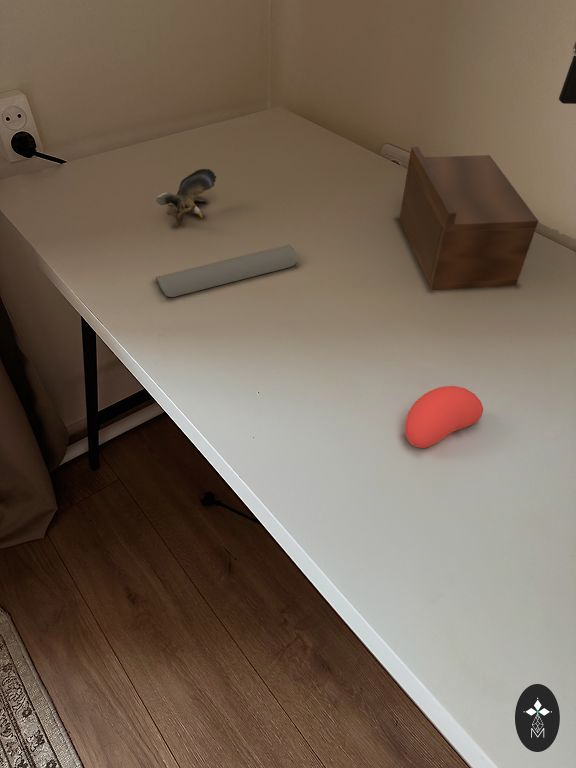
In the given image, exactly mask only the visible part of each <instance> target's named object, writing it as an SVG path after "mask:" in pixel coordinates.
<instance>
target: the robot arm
mask: <svg viewBox="0 0 576 768" xmlns="http://www.w3.org/2000/svg"><path fill="white" fill-rule="evenodd" d="M572 52H573V54H574V55H573V57H572V59H571V62H570V65H569V68H568V71H567V73H566V77H565V79H564V82H563V85H562V88H561V90H560V93H559V97H558V101H559V102H560V103H562V104H565V105H567V104H568V105H569V104H570V105H576V41H575V42H574V44H573V47H572Z"/></svg>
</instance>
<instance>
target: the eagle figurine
mask: <svg viewBox="0 0 576 768" xmlns="http://www.w3.org/2000/svg"><path fill="white" fill-rule="evenodd" d="M216 180H217V176H216V174H215V172H214V171H213V170H211V169H210V168H199V169H197V170H195V171H194V172H192V173H190V174H189V175H186V177H184V178H183V179H182V180H181V181H180V183H179V186H178V190H177V193H176V194H173V193H171V192H169V191H167V192H163V193H162V194H159V195H158V196H156V197H155V199H156V200H155V202H156V203H157V204H158V205H160V206H166V205H167V206H168V207H171V208H172V209H173V211H171V212H167V215H168V216H174V218H175V222H174V223H175V227H177V228H178V226H179V225H180V224H181V223H182V222H183V220H184V217H185V215H186V214H187V213H193V214H194V215H197V216H199V217H200V218H201V219H203V214H202V210H201V209H200V208H199V207H198V206H197V205H196V204H195V202H206V200H205V199H203V198H201V197H200V198H199V197H197V196H199V195H202V194H204V193H205V192H206V191H209V190H211V189H212V188H213V187H214V186H215V183H216Z"/></svg>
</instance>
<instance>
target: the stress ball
mask: <svg viewBox="0 0 576 768" xmlns="http://www.w3.org/2000/svg"><path fill="white" fill-rule="evenodd" d="M483 413H484V406H483V403H482V401H481V399H480V398H479V397H478V396H477V395H476V393H475V392H472V391H470V390H469V389H468V388H465V387H460V386H457V385H446V386H439V387H437V388H433V389H431V390H429V391H428V392H425V393H424V394H422V395H421V396H420V397H419V398H418V399H417V400H416V401H415V402H414V403H413V404H412V405H411V408H410V409H409V411H408V412H407V416H406V419H405V424H404V425H405V426H404V433H405V437H406V440H407V441H408V442H409V444H411V445H412V446H414V447H416V448H421V449H423V448H424V449H425V448H429V447H432V446H434V445H435V444H437V443H438V442H441V440H443V439H445V438H446V437H448V436H449V435H450V434H452V433H453V432H456V431H459V430H461V429H464V428H466V427H470V426H472V425H474V424H476V423H477V422H478V421H479V420H480V419H481V418H482V417H483Z"/></svg>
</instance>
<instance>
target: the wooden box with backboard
mask: <svg viewBox="0 0 576 768" xmlns="http://www.w3.org/2000/svg"><path fill="white" fill-rule="evenodd" d="M398 220H399V222H400V224H401V227H402V228H403V231H404V233H405V236H406V238H407V240H408V242H409V244H410V246H411V249H412V250H413V253H414V255H415V258H416V260H417V261H418V263H419V266H420V268H421V271H422V273H423V274H424V276H425V279H426V281H427V283H428V285H429V287H430V290H432V291H433V290H434V291H435V290H453V289H454V290H455V289H472V288H473V289H475V288H490V287H508V286H517V284H518V282H519V281H518V280H519V278H520V275H521V272H522V269H523V267H524V263H525V261H526V258H527V255H528V252H529V249H530V246H531V244H532V241H533V238H534V235H535V232H536V229H537V226H538V224H539V219H538V218H537V217H536V215H535V214H534V213H533V211H532V210H531V208H530V207H529V206H528V204H527V203H526V202H525V200H524V199H523V197H521V195H520V194H519V192H518V191H517V190H516V189H515V187H514V186H513V185H512V183H511V182H510V180H509V179H508V177H507V176H506V174H504V173H503V171H502V170H501V168H500V167H499V165H498V164H497V163H496V162H495V160H494V158H493V157H492V156H491V155H490V154H487V155H485V154H483V155H453V156H452V155H451V156H448V155H447V156H424V154H423V153H422V151H421V149H420V147H419V146H411V148H410V154H409V158H408V165H407V171H406V176H405V181H404V187H403V194H402V200H401V206H400V211H399V218H398Z"/></svg>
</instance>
